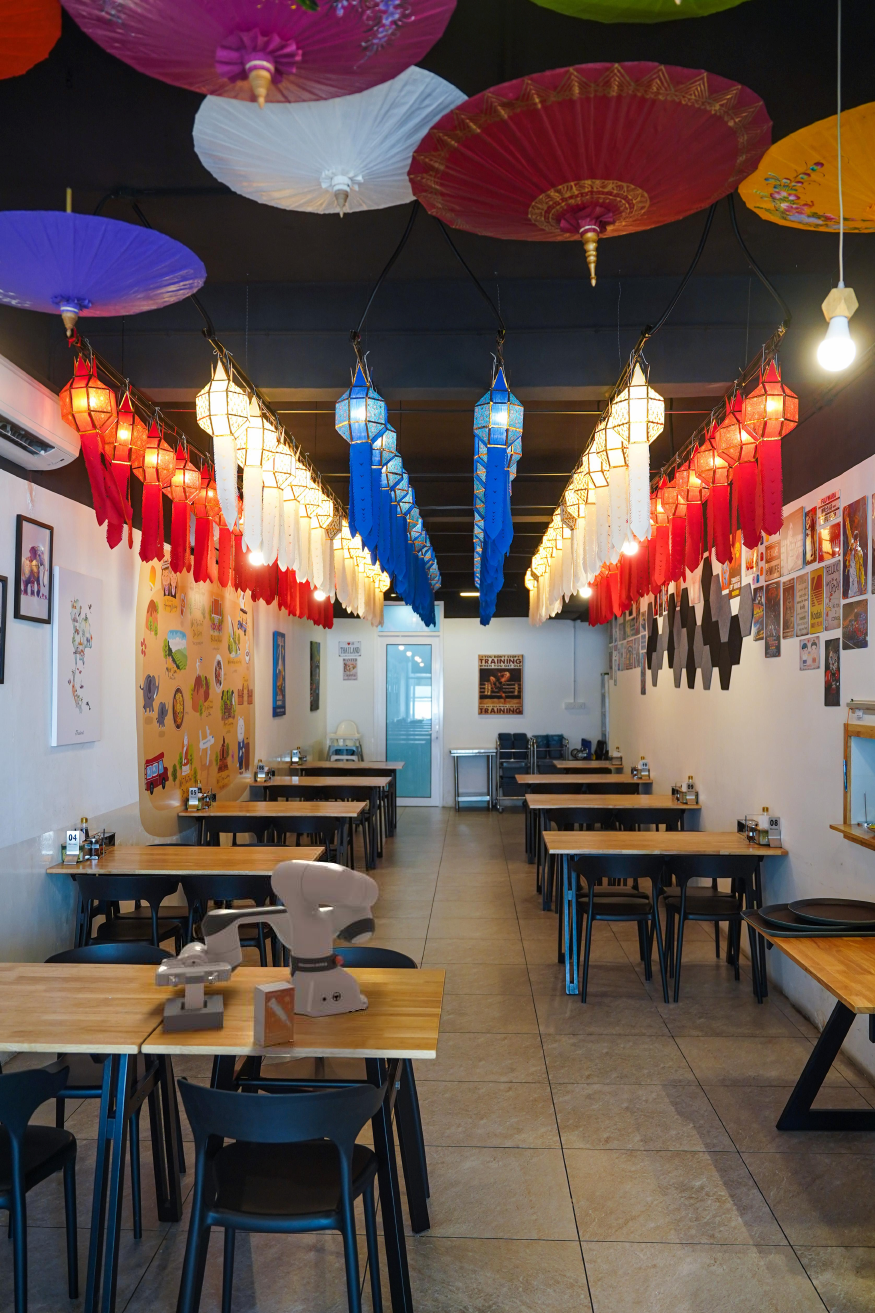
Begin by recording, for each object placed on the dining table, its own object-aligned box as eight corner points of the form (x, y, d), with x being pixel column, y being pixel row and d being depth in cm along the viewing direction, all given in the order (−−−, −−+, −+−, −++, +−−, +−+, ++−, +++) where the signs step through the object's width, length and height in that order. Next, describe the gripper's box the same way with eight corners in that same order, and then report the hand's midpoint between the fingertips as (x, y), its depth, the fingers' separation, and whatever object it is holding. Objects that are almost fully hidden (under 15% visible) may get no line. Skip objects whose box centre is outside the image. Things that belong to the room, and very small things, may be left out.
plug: (203, 1017, 233) (204, 970, 234) (203, 1023, 229) (204, 975, 230) (184, 1018, 232) (185, 971, 233) (184, 1024, 228) (185, 976, 229)
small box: (263, 1048, 211) (264, 992, 212) (252, 1040, 216) (253, 985, 217) (294, 1041, 216) (295, 986, 217) (283, 1033, 221) (283, 980, 222)
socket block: (222, 1010, 239) (222, 994, 240) (223, 1027, 225) (223, 1011, 226) (165, 1014, 236) (166, 998, 236) (163, 1032, 222) (163, 1016, 222)
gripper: (231, 977, 253) (233, 991, 240) (156, 983, 248) (153, 998, 235) (231, 954, 254) (233, 967, 240) (156, 960, 248) (154, 973, 235)
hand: (193, 982), depth 237 cm, fingers open, 8 cm apart
